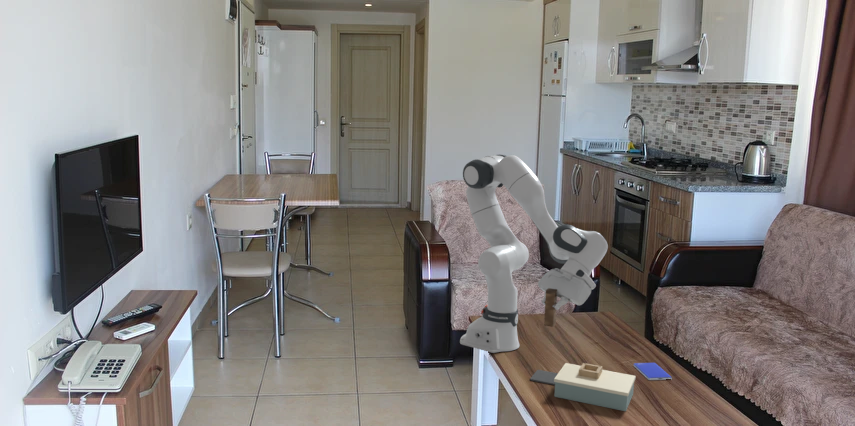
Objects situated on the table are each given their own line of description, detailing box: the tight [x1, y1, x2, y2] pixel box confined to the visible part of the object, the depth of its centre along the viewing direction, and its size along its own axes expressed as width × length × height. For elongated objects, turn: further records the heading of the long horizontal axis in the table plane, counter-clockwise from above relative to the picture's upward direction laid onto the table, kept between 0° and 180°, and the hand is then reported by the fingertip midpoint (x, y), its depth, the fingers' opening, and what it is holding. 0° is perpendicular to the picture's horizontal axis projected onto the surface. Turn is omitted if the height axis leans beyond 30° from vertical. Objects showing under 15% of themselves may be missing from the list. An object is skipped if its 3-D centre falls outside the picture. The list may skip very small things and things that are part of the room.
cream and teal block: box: [554, 362, 637, 412], centre depth 219 cm, size 23×15×8 cm, turn 65°
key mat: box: [529, 369, 559, 386], centre depth 232 cm, size 9×9×1 cm
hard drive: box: [633, 362, 673, 381], centre depth 238 cm, size 2×8×12 cm
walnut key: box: [543, 288, 558, 328], centre depth 227 cm, size 3×3×12 cm
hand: (549, 306), depth 227 cm, fingers closed on walnut key, 4 cm apart
